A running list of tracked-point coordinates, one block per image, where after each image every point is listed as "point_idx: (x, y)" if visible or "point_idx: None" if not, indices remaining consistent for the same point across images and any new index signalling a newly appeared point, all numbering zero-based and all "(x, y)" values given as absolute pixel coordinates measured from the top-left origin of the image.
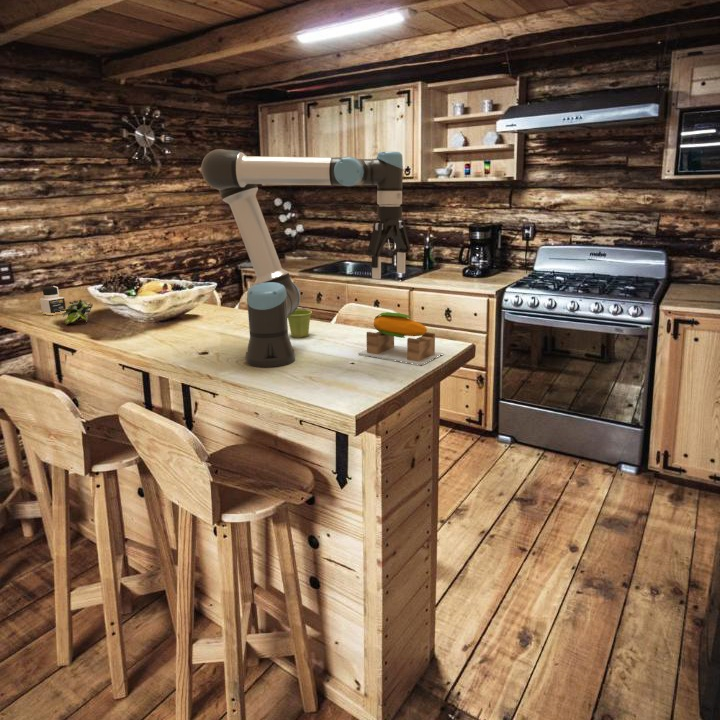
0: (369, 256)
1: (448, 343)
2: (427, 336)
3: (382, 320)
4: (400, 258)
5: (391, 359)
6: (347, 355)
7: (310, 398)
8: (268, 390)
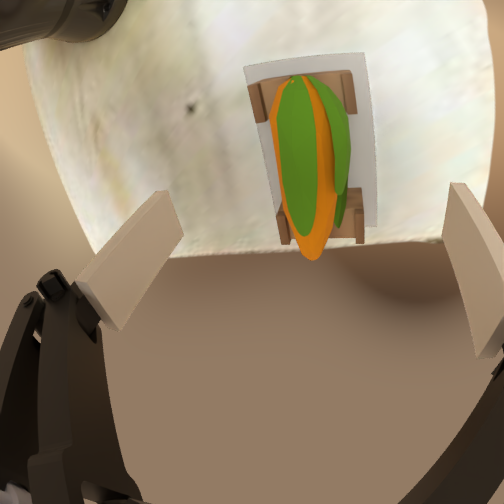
0: (56, 272)
1: None
2: (355, 223)
3: (272, 135)
4: (479, 286)
5: (265, 160)
6: (222, 51)
7: (75, 194)
8: (47, 137)
